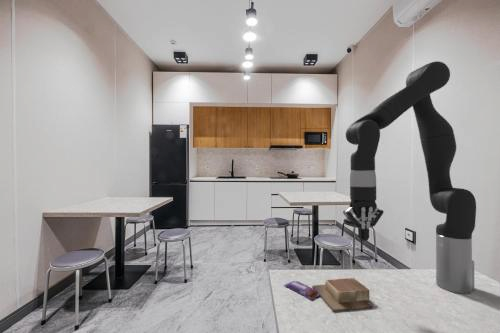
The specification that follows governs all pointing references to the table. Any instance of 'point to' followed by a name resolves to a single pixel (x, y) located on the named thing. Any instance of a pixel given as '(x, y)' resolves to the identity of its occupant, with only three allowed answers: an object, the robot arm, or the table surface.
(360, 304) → the walnut board
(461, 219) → the robot arm
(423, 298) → the table surface
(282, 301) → the table surface
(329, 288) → the wooden block
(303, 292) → the snack package
